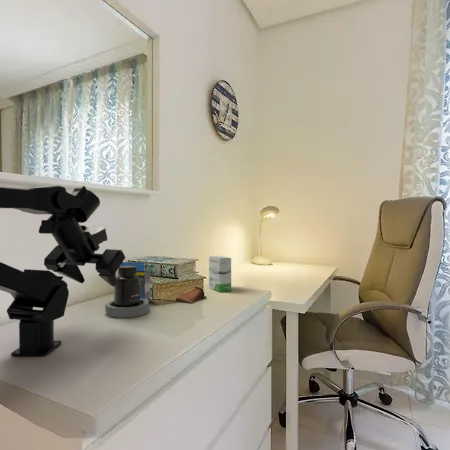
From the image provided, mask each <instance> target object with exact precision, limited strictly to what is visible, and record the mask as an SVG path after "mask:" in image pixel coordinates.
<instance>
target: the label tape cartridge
mask: <svg viewBox="0 0 450 450" xmlns="http://www.w3.org/2000/svg"><path fill="white" fill-rule="evenodd" d="M120 266H137V273H136V275H137V276H138V277H139V278H140V298H141V299H146V300H148V301H149V302H150V301H151V299H150V292H151V279H150V278H151V274H150V273H148V272H147V271H145V262H132V261H131V262H129V261H123V262H122V264H121V265H120Z"/></svg>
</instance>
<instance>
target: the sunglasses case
mask: <svg viewBox="0 0 450 450" xmlns="http://www.w3.org/2000/svg"><path fill="white" fill-rule="evenodd" d="M194 287H195V288H196V289H194V290H192V291H189V292H186V293H184V294H181V295H179V296H178V297H177V298H176V301H177V302H176V303H184V304H195V303H196V302H198V301H200V300H203V299H204V298H205V291H204V290H203V288H201V287H198V286H194Z"/></svg>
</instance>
